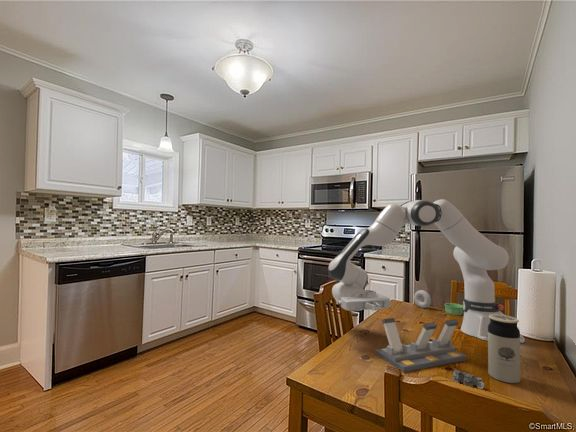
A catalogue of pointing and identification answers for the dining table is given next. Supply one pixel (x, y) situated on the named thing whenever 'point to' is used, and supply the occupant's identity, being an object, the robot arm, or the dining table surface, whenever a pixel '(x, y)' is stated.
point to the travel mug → (504, 348)
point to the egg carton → (467, 379)
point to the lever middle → (425, 334)
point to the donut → (426, 297)
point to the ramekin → (453, 308)
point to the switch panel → (421, 355)
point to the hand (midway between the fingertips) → (377, 308)
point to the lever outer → (392, 334)
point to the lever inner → (447, 331)
